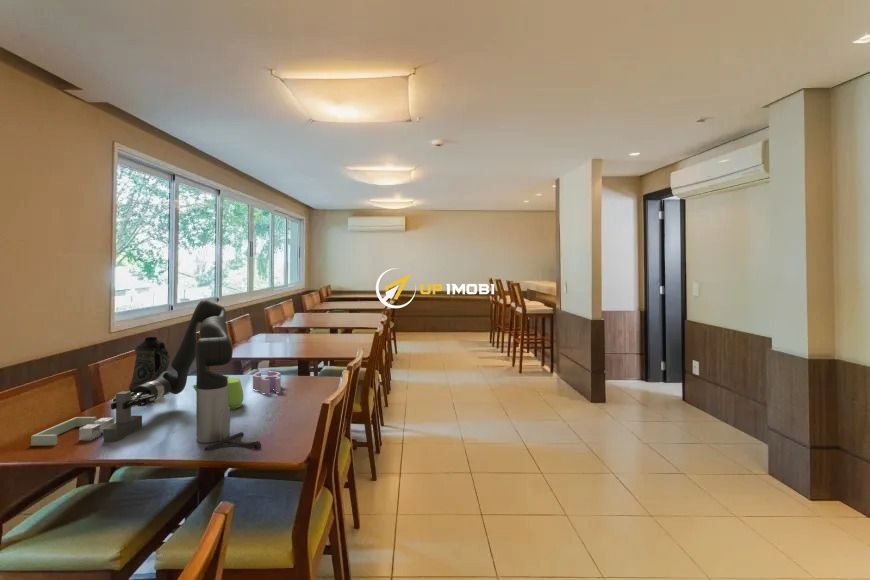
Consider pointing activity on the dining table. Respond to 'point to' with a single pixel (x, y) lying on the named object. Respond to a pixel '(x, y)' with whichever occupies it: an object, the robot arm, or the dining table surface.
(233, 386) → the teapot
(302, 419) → the dining table surface
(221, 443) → the bracket
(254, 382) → the clip
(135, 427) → the gray t-shaped block
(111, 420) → the beige cube
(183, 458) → the dining table surface
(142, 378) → the beer stein
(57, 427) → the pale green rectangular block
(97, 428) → the grey cube block
